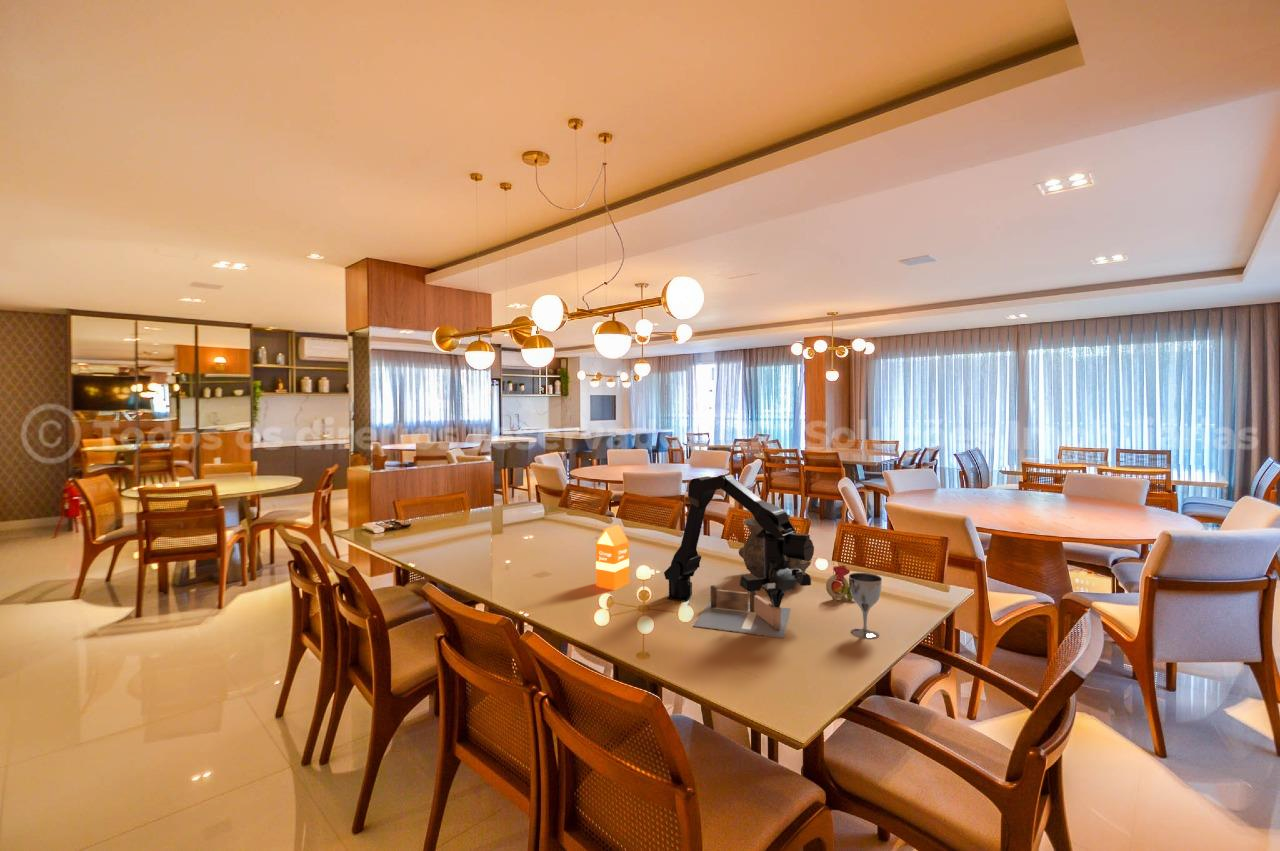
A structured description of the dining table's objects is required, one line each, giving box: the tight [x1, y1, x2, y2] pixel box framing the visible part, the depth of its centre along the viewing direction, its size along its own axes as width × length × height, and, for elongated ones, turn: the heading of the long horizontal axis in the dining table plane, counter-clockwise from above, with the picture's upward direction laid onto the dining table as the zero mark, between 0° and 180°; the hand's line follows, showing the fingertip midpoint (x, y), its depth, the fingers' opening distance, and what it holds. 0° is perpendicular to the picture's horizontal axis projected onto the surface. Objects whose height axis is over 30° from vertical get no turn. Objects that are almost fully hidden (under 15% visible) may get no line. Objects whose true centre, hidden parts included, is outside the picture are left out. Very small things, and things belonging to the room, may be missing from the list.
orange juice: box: [595, 523, 630, 591], centre depth 190 cm, size 8×9×20 cm
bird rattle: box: [825, 565, 854, 601], centre depth 173 cm, size 6×11×9 cm
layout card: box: [692, 599, 791, 639], centre depth 159 cm, size 24×22×1 cm
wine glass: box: [848, 572, 883, 640], centre depth 147 cm, size 8×8×15 cm
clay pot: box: [738, 513, 812, 578], centre depth 194 cm, size 25×24×22 cm
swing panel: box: [754, 594, 781, 629], centre depth 155 cm, size 13×2×5 cm, turn 15°
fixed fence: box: [710, 585, 758, 612], centre depth 165 cm, size 14×2×6 cm, turn 70°
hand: (776, 611), depth 153 cm, fingers closed
